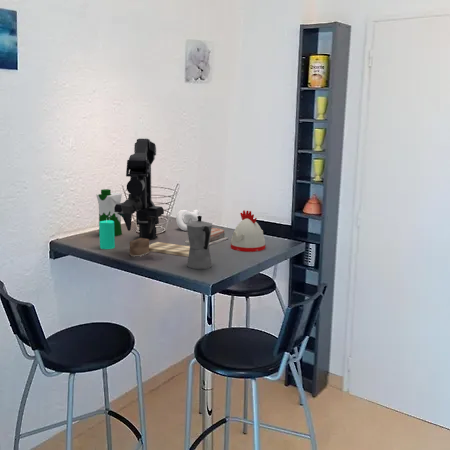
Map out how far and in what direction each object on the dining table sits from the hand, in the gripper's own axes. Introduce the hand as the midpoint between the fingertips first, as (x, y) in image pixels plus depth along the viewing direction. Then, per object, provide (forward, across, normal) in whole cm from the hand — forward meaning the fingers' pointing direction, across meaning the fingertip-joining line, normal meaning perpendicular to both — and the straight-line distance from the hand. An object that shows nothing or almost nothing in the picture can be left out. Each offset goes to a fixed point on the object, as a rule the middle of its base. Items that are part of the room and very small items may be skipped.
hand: (139, 231), depth 210 cm
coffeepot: (+9, +28, -4) cm, 30 cm away
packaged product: (+9, +13, +30) cm, 34 cm away
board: (+9, +8, +10) cm, 16 cm away
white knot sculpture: (+9, -5, +46) cm, 48 cm away
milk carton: (+9, -29, +20) cm, 37 cm away
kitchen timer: (+9, +32, +29) cm, 44 cm away
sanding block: (+9, 0, 0) cm, 9 cm away
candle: (+9, -17, +2) cm, 19 cm away
